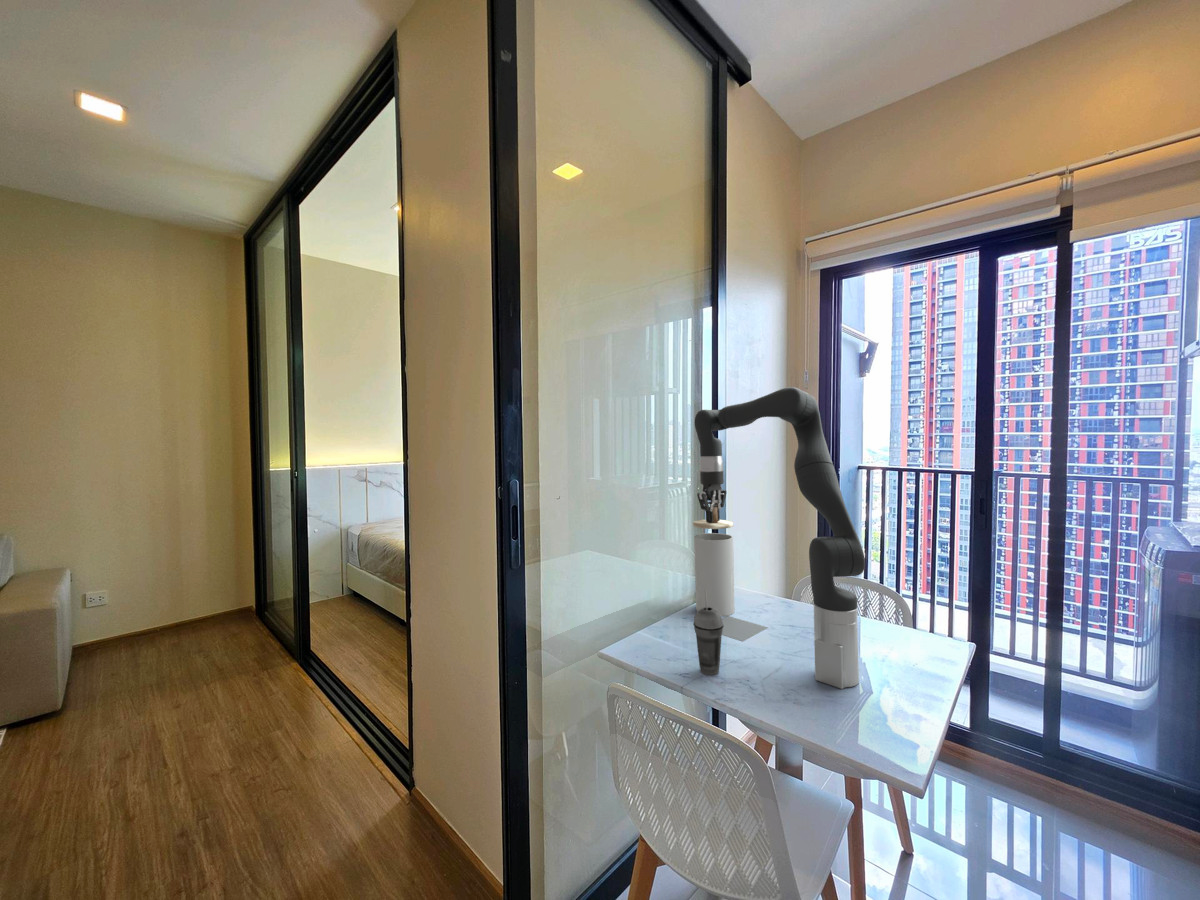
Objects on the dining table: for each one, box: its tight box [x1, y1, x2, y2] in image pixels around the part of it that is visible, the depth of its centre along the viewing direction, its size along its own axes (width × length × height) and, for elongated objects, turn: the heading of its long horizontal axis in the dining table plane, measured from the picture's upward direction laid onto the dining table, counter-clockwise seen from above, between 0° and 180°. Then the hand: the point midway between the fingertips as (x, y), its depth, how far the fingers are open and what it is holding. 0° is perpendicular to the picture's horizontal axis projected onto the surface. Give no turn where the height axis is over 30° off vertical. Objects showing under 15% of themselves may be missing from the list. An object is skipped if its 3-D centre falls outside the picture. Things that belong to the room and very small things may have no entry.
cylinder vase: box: [693, 532, 736, 618], centre depth 158 cm, size 12×12×25 cm
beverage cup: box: [692, 589, 724, 677], centre depth 117 cm, size 7×7×20 cm
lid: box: [692, 507, 734, 530], centre depth 158 cm, size 13×13×6 cm
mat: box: [721, 615, 769, 642], centre depth 142 cm, size 14×14×1 cm
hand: (713, 521), depth 158 cm, fingers closed on lid, 3 cm apart
